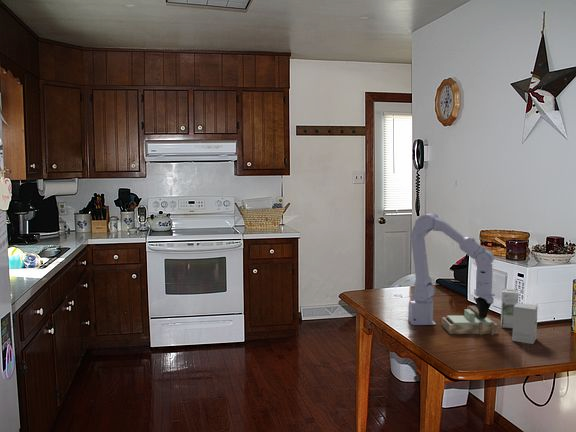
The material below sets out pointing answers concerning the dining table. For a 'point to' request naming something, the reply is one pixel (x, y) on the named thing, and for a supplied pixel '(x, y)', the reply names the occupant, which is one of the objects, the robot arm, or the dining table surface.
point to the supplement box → (524, 323)
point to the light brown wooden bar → (475, 311)
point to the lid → (468, 319)
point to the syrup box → (508, 307)
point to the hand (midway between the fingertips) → (482, 317)
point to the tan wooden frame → (469, 328)
